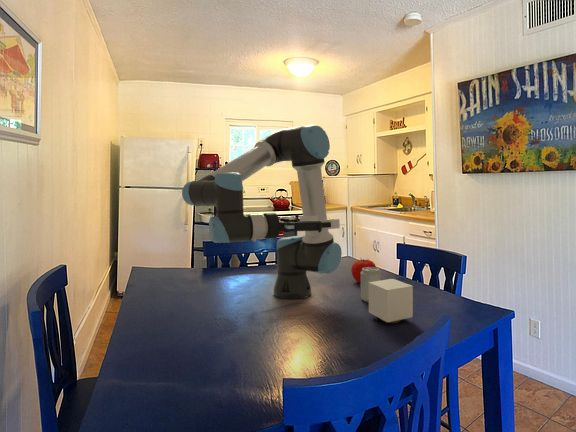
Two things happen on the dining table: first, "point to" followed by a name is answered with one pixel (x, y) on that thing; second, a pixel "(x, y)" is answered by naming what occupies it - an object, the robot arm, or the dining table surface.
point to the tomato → (360, 268)
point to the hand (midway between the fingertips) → (327, 221)
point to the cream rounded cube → (391, 300)
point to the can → (368, 280)
